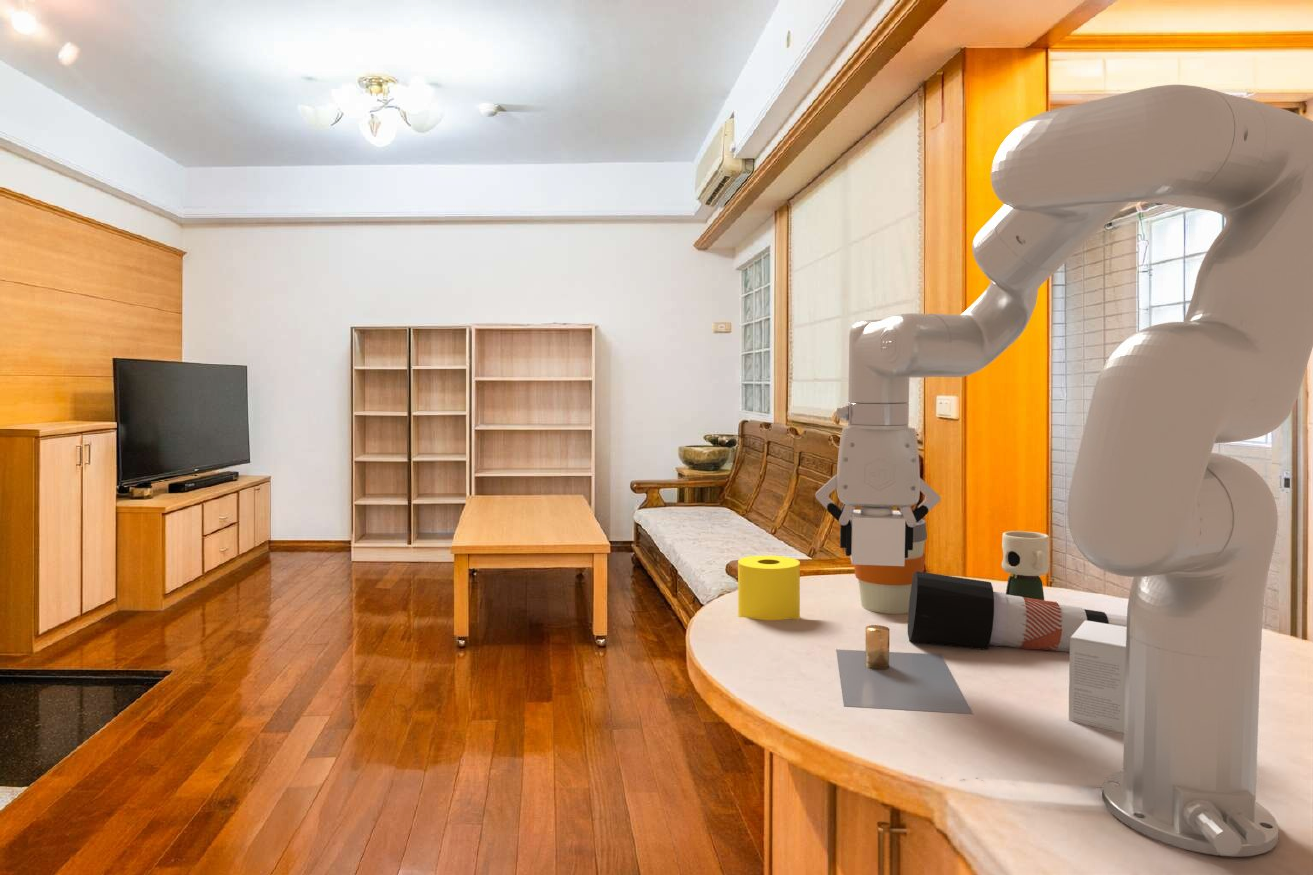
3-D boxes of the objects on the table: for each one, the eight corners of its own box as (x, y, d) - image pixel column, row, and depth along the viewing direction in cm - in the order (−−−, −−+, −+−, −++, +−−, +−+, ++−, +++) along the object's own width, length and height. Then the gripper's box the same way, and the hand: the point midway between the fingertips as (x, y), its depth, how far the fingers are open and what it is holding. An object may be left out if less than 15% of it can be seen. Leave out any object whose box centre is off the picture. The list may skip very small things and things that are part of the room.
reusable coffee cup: (844, 596, 142) (844, 514, 141) (914, 596, 141) (915, 514, 140) (859, 616, 129) (859, 526, 128) (936, 616, 129) (937, 526, 128)
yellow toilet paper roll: (785, 631, 122) (785, 571, 121) (728, 621, 127) (727, 564, 127) (808, 615, 130) (808, 559, 130) (753, 607, 136) (753, 553, 135)
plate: (972, 724, 87) (973, 713, 87) (843, 716, 90) (843, 705, 90) (941, 662, 107) (941, 654, 107) (836, 657, 109) (836, 649, 109)
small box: (1082, 707, 92) (1084, 618, 91) (1137, 719, 88) (1140, 627, 87) (1066, 730, 85) (1068, 636, 85) (1125, 745, 82) (1128, 646, 81)
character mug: (988, 603, 136) (989, 529, 136) (1029, 602, 137) (1030, 528, 136) (1019, 621, 126) (1020, 541, 125) (1063, 620, 126) (1064, 540, 125)
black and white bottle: (1173, 700, 105) (1198, 646, 99) (907, 656, 113) (918, 603, 107) (1153, 645, 113) (1175, 592, 108) (907, 607, 121) (916, 556, 116)
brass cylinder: (890, 670, 101) (890, 632, 100) (866, 669, 101) (866, 631, 101) (887, 662, 104) (888, 625, 103) (864, 661, 104) (864, 624, 104)
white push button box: (904, 566, 98) (905, 511, 98) (852, 564, 100) (852, 509, 99) (898, 555, 105) (899, 503, 104) (848, 553, 106) (849, 502, 105)
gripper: (809, 418, 99) (808, 558, 100) (954, 418, 95) (951, 563, 97) (809, 415, 106) (807, 546, 107) (943, 416, 103) (940, 550, 104)
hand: (875, 553), depth 102 cm, fingers closed on white push button box, 6 cm apart
